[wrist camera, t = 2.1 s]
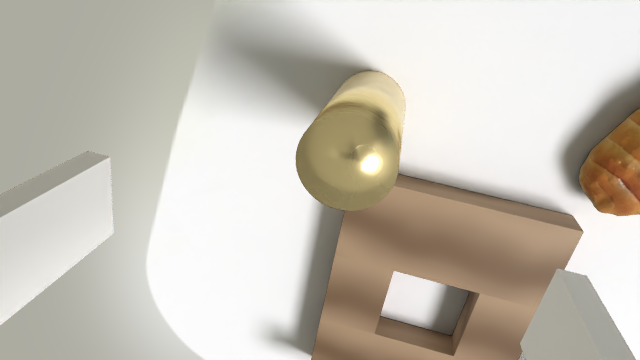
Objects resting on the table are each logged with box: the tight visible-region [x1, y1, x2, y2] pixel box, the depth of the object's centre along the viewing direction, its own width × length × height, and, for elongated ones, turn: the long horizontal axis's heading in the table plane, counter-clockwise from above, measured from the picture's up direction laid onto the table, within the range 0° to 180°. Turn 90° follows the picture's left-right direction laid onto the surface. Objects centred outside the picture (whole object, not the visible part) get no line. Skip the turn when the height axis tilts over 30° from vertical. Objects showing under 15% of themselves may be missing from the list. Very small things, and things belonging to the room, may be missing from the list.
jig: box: [311, 174, 583, 360], centre depth 30 cm, size 18×14×4 cm
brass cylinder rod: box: [296, 71, 405, 211], centre depth 23 cm, size 4×4×10 cm
